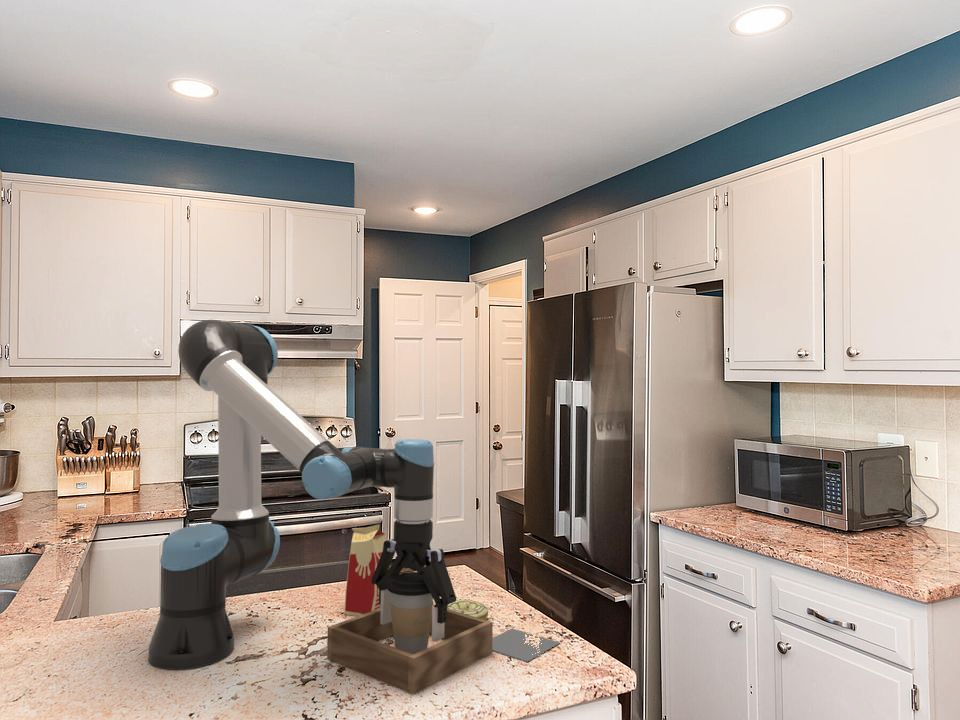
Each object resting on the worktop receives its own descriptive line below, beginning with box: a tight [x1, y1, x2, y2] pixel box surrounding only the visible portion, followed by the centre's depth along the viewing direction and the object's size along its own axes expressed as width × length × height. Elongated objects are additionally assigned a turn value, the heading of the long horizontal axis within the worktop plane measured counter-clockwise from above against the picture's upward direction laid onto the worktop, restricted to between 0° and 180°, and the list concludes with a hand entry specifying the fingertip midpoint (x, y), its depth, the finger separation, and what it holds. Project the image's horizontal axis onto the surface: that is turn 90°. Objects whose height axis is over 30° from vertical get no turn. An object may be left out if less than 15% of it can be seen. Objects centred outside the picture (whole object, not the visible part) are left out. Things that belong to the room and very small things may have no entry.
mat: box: [492, 628, 561, 663], centre depth 135 cm, size 12×12×1 cm
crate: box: [326, 608, 494, 695], centre depth 129 cm, size 22×22×6 cm
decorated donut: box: [447, 598, 489, 620], centre depth 148 cm, size 10×11×4 cm
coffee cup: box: [387, 571, 434, 654], centre depth 129 cm, size 9×9×15 cm
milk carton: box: [344, 524, 392, 617], centre depth 154 cm, size 9×9×20 cm
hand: (411, 630), depth 129 cm, fingers open, 13 cm apart
